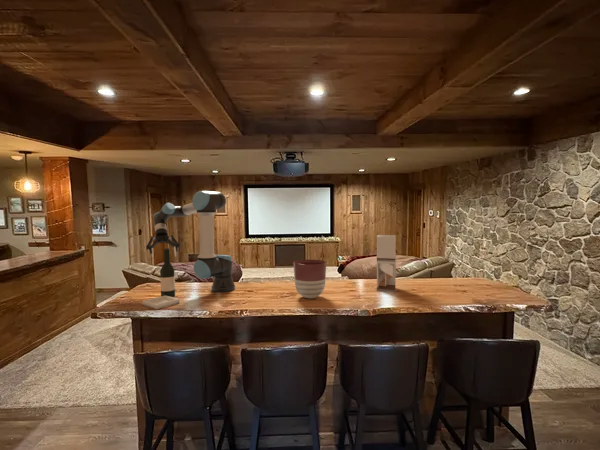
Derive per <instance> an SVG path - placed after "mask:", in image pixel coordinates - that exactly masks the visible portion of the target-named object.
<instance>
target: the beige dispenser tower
mask: <svg viewBox="0 0 600 450" xmlns="http://www.w3.org/2000/svg"><path fill="white" fill-rule="evenodd" d="M396 239H397V236H396V235H394V234H393V235H392V234H377V235H376V292H377V291H378V292H389V293H390V292H391V293H392V292H393V293H395V292H396V280H397V278H396V275H397V274H396V273H397V271H396V269H397V268H396V265H397V264H396V263H397V262H396V261H397V257H396V256H397V255H396V250H397V248H396V247H397V241H396Z"/></svg>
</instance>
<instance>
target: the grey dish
mask: <svg viewBox="0 0 600 450" xmlns="http://www.w3.org/2000/svg"><path fill="white" fill-rule="evenodd" d="M141 303H142V306H143V305H144V307H146V308H147V307H148V308H151V309H154V310H160V309H163V308H166V307H171V306H174V305H179V304H180V298H177V297H170V296H166V295H165V296H161V295H160V296H157V297H152V298H149V299H146V300H142V302H141Z"/></svg>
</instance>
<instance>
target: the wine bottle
mask: <svg viewBox="0 0 600 450" xmlns="http://www.w3.org/2000/svg"><path fill="white" fill-rule="evenodd" d="M170 252H171V251H170V248H169V247H164V249H163V265H162V266H161V268H160V269H159V272H160V274H159V275H160V276H159V277H160V297H161V296H165V295H166V296H170V297H173V298H176V297H175V296H176V284H175V283H176V282H175V276H176V275H175V267H174V266H173V265H172V264H171V253H170Z"/></svg>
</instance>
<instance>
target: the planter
mask: <svg viewBox="0 0 600 450" xmlns="http://www.w3.org/2000/svg"><path fill="white" fill-rule="evenodd" d="M326 272H327V261H325V260H324V259H323V260H321V259H300V260H299V259H298V260H294V261H293V274H294V275H293V276H294V277H293V278H294V286H295V289H296V291H297V293H298V294H299V295H300V296H301V297H303V298H304V299H310V300H311V299H315V298H317V297H319V296H321V294H322V293H323V292H324V291H325V286H326V275H327V273H326Z"/></svg>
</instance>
